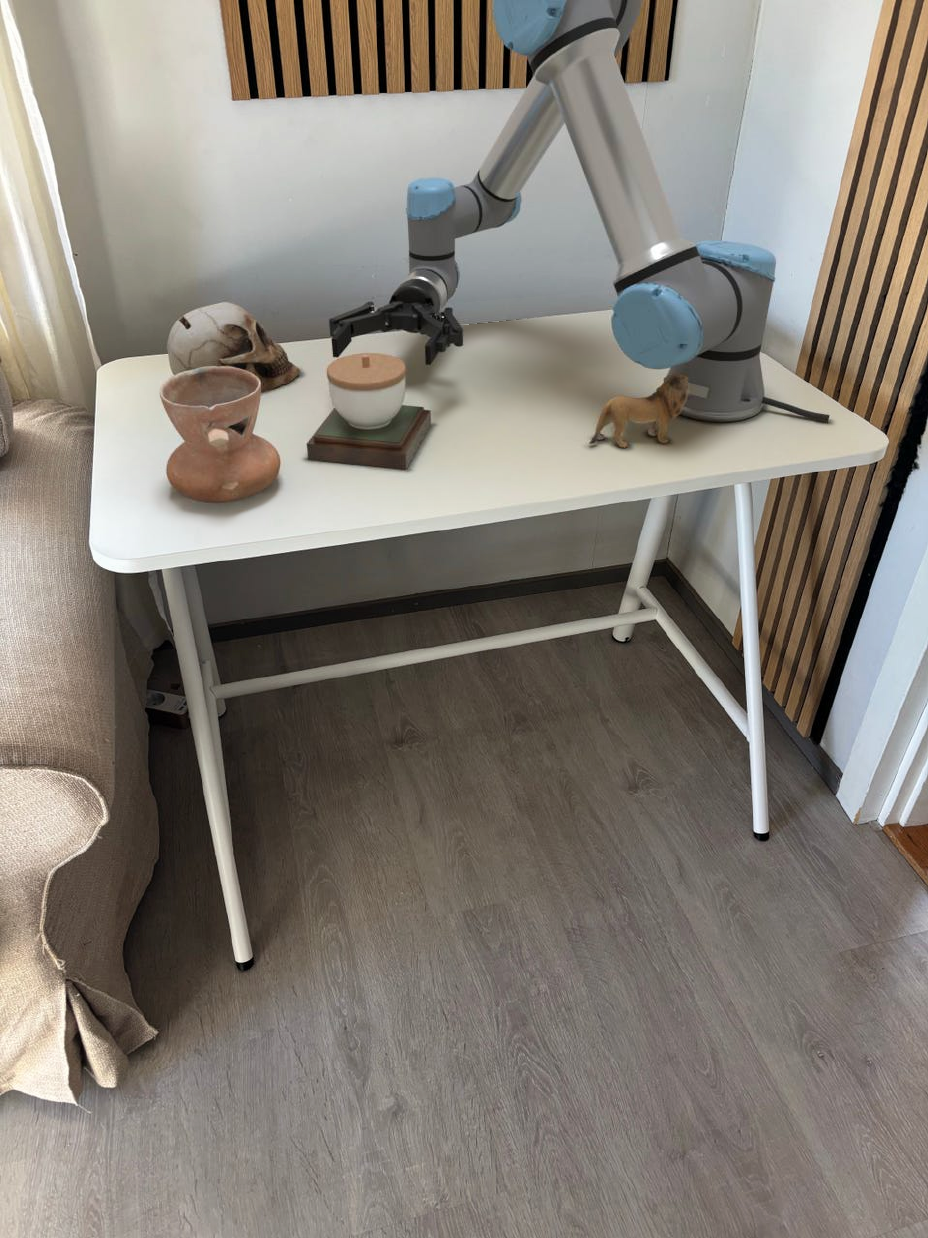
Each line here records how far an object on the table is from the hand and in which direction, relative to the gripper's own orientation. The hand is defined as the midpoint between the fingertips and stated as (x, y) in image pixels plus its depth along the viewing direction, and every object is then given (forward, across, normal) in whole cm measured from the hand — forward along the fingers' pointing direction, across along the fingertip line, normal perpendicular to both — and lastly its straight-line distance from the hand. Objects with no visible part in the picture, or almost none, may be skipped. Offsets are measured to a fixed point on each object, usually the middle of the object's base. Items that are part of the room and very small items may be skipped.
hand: (380, 351), depth 135 cm
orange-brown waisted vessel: (+22, +15, -11) cm, 29 cm away
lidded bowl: (+6, 0, -8) cm, 10 cm away
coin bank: (-10, +27, -11) cm, 31 cm away
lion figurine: (-2, -37, -11) cm, 39 cm away
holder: (+6, 0, -11) cm, 13 cm away
